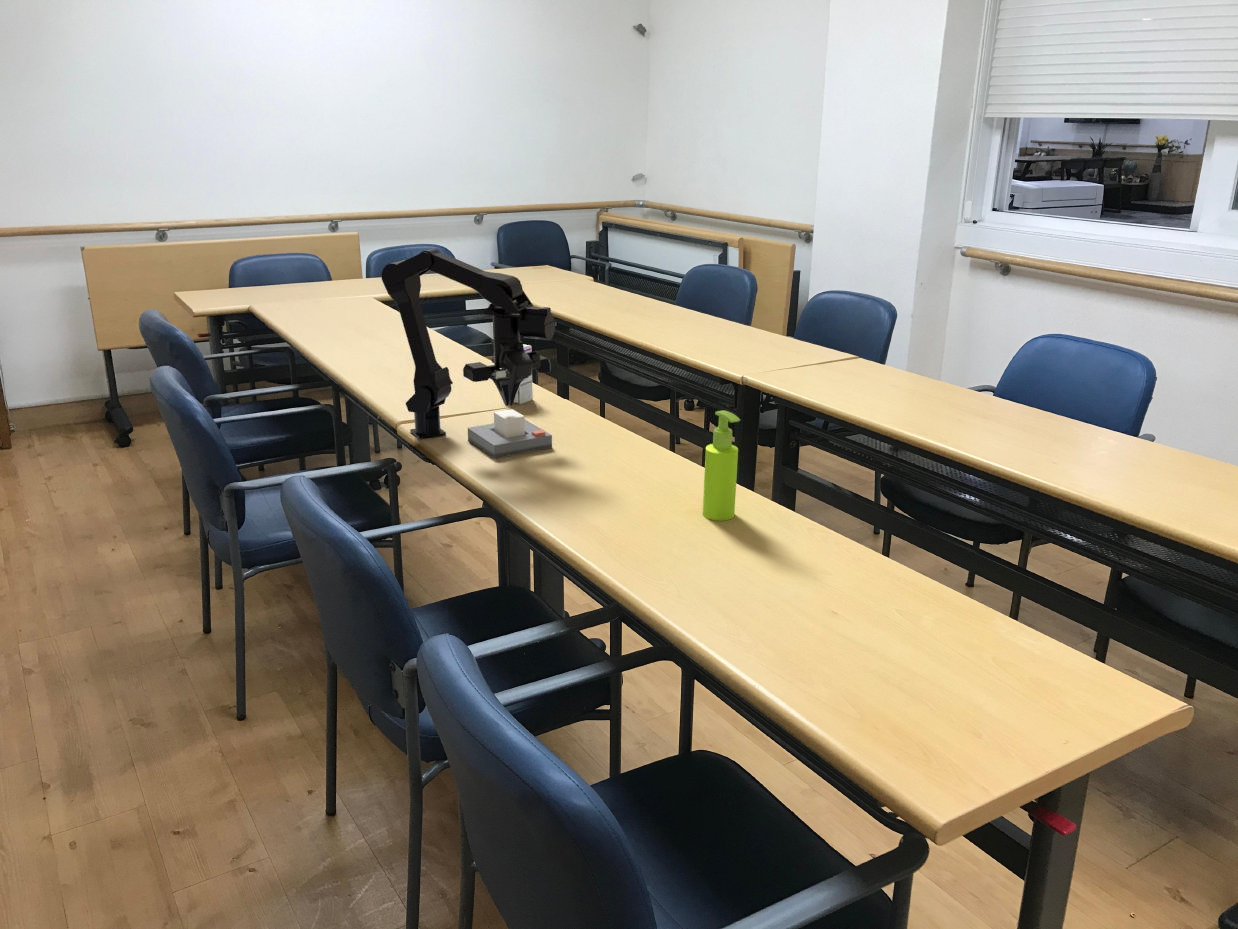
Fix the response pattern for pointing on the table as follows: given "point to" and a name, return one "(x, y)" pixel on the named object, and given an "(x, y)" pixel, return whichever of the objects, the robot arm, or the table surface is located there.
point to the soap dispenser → (721, 471)
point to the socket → (509, 440)
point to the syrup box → (525, 385)
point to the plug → (509, 423)
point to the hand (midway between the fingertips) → (508, 405)
